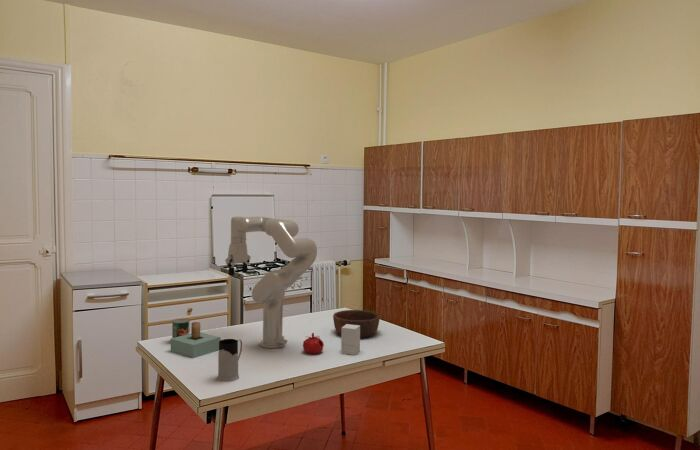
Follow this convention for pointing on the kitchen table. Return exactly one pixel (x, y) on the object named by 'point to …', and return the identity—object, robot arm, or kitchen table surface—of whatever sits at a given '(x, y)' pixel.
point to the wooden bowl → (357, 321)
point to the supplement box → (350, 339)
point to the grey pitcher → (228, 360)
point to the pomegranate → (313, 345)
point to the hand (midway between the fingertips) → (238, 274)
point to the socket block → (195, 345)
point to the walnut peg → (195, 331)
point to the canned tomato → (180, 327)
